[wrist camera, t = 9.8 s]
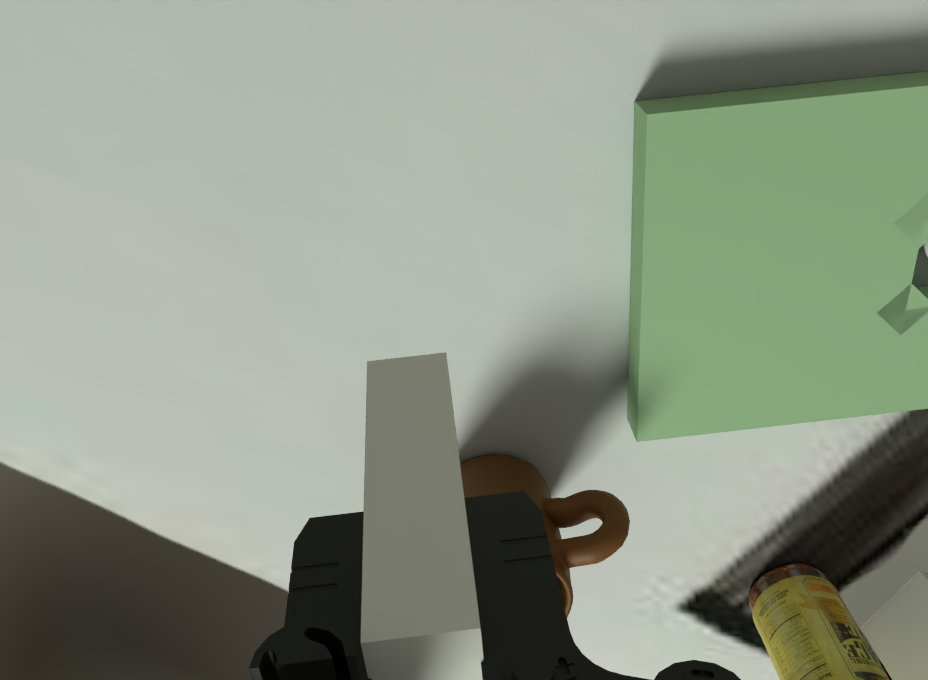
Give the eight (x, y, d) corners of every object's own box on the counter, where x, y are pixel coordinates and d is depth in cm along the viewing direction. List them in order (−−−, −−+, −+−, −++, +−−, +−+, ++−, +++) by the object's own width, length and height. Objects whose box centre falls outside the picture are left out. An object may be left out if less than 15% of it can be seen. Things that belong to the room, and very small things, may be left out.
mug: (571, 395, 53) (605, 497, 45) (627, 473, 57) (668, 580, 48) (409, 486, 56) (415, 598, 48) (473, 555, 59) (487, 670, 51)
